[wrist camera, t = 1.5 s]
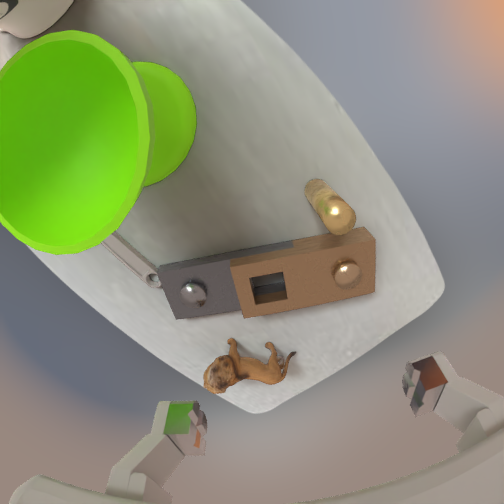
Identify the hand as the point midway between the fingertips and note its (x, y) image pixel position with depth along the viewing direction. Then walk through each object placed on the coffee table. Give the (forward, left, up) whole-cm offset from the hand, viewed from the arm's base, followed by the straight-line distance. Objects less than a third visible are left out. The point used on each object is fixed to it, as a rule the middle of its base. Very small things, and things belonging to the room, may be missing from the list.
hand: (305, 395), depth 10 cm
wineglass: (-12, -13, -29) cm, 34 cm away
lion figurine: (+26, -7, -29) cm, 39 cm away
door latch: (+11, -2, -28) cm, 31 cm away
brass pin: (+1, +6, -28) cm, 29 cm away
